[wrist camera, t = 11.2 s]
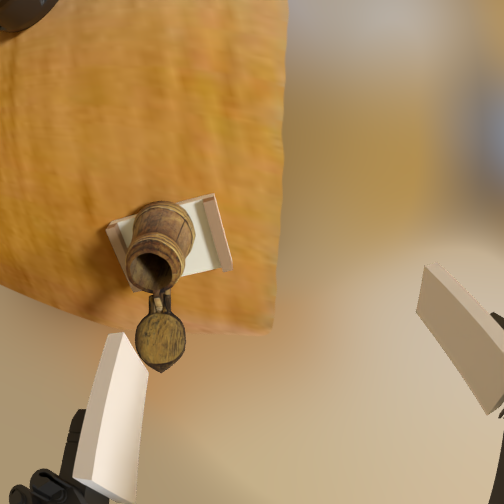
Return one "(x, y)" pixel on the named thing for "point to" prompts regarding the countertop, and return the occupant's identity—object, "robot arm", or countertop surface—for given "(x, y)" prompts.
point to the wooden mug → (159, 278)
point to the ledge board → (205, 244)
